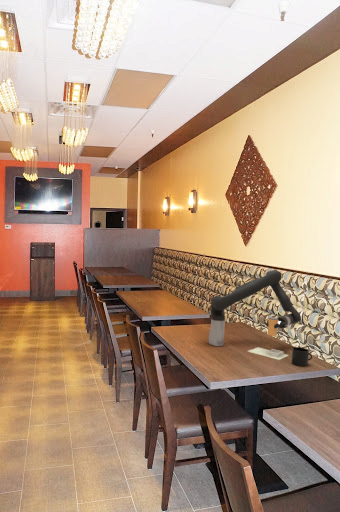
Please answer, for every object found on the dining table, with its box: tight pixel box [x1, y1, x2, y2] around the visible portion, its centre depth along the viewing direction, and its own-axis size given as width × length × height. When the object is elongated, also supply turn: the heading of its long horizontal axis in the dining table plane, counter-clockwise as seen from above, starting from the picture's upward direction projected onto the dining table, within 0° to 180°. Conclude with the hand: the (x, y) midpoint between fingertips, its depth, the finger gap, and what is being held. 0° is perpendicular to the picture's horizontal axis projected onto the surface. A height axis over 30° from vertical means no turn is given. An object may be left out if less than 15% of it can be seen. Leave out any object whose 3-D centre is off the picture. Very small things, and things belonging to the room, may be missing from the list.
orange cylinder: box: [267, 316, 278, 337], centre depth 266 cm, size 4×4×11 cm
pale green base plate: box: [247, 346, 289, 361], centre depth 268 cm, size 22×14×4 cm, turn 50°
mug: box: [291, 346, 313, 367], centre depth 255 cm, size 9×12×9 cm
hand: (271, 325), depth 264 cm, fingers closed on orange cylinder, 4 cm apart
